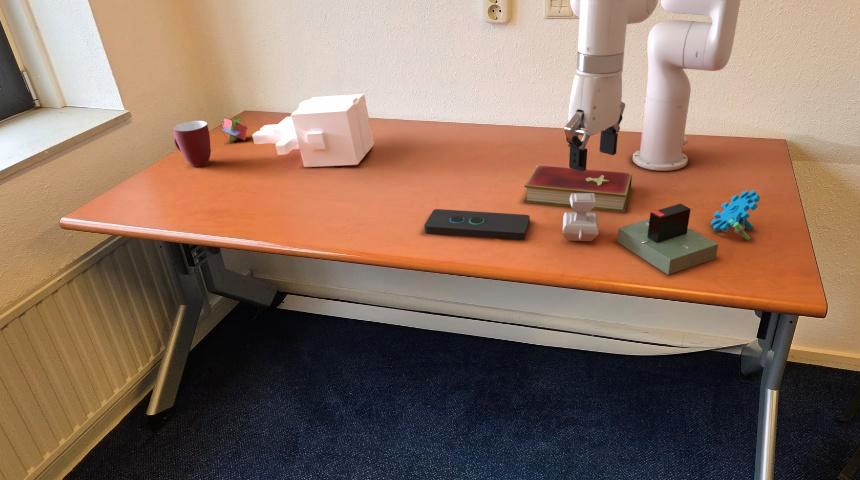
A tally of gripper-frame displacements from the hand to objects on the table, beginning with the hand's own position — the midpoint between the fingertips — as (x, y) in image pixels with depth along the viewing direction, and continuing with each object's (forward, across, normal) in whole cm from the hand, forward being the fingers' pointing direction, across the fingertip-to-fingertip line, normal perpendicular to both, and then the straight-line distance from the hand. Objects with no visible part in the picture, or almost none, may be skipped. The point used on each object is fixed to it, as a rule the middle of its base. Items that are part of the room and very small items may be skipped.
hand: (592, 161), depth 118 cm
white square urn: (+16, 0, -2) cm, 16 cm away
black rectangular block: (+13, -5, +14) cm, 19 cm away
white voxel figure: (+16, +5, -79) cm, 80 cm away
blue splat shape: (+16, -20, +20) cm, 32 cm away
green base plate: (+16, -5, +14) cm, 21 cm away
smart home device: (+16, +9, -20) cm, 27 cm away
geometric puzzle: (+16, +11, -107) cm, 108 cm away
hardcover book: (+16, -15, -12) cm, 25 cm away
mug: (+16, +27, -100) cm, 105 cm away
